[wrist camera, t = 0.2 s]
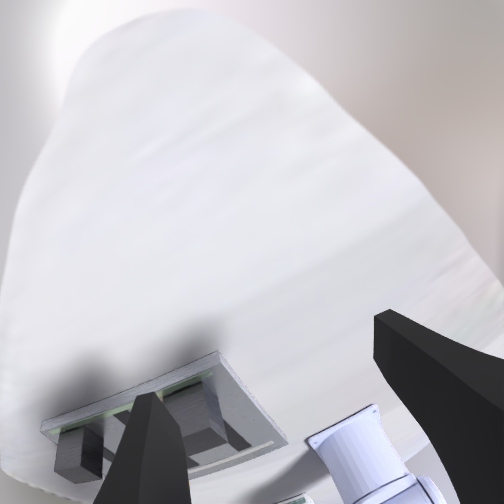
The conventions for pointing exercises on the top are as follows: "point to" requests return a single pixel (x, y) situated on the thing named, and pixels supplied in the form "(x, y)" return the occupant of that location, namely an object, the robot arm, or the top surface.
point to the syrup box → (299, 500)
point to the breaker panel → (228, 405)
